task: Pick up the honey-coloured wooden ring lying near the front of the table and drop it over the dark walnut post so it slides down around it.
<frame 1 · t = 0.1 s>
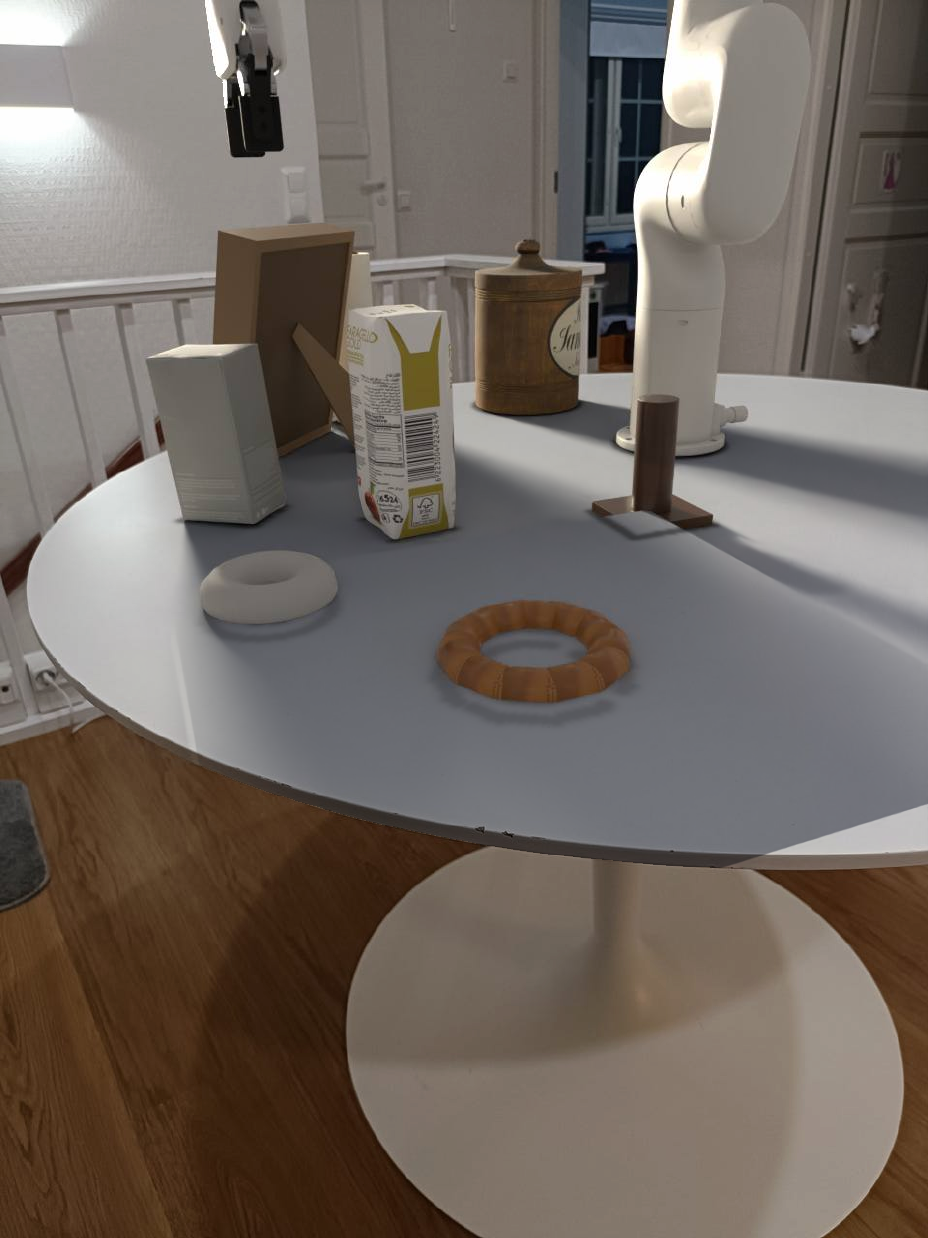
hand: (256, 154, 78), 31 cm above the table, tool pointing down, fingers open, 9 cm apart
post: (650, 517, 81), on the table
donut: (272, 612, 66), on the table
ring: (533, 651, 56), point 1 cm above the table
juice carton: (408, 525, 82), on the table
cosmetic box: (231, 516, 86), on the table
wooden container: (526, 405, 127), on the table
photo frame: (313, 455, 106), on the table
paper towel roll: (355, 421, 121), on the table
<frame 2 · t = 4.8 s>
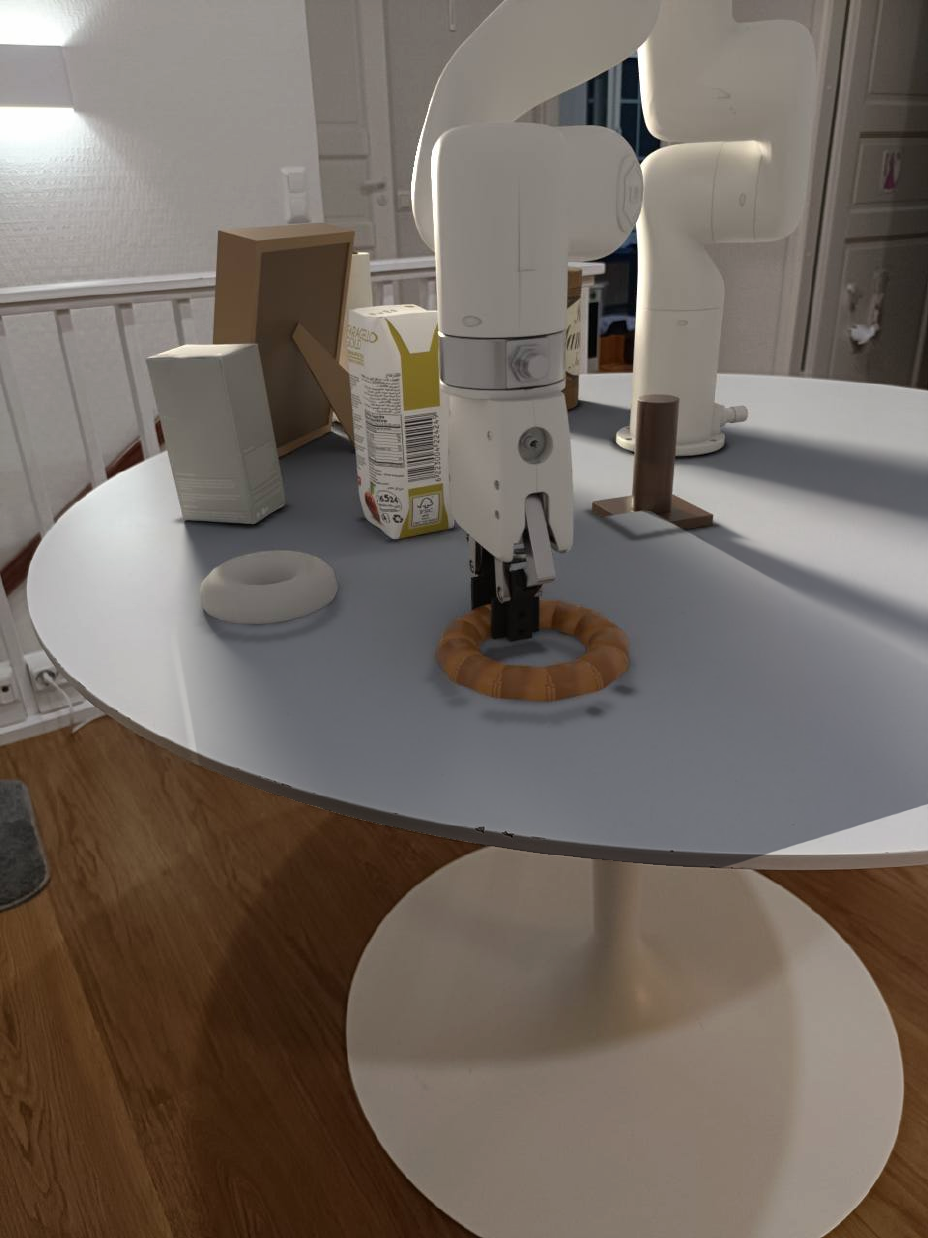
hand: (504, 636, 60), 0 cm above the table, tool pointing down, fingers closed on ring, 3 cm apart
ring: (532, 650, 56), point 1 cm above the table, touching gripper
everything else where it was.
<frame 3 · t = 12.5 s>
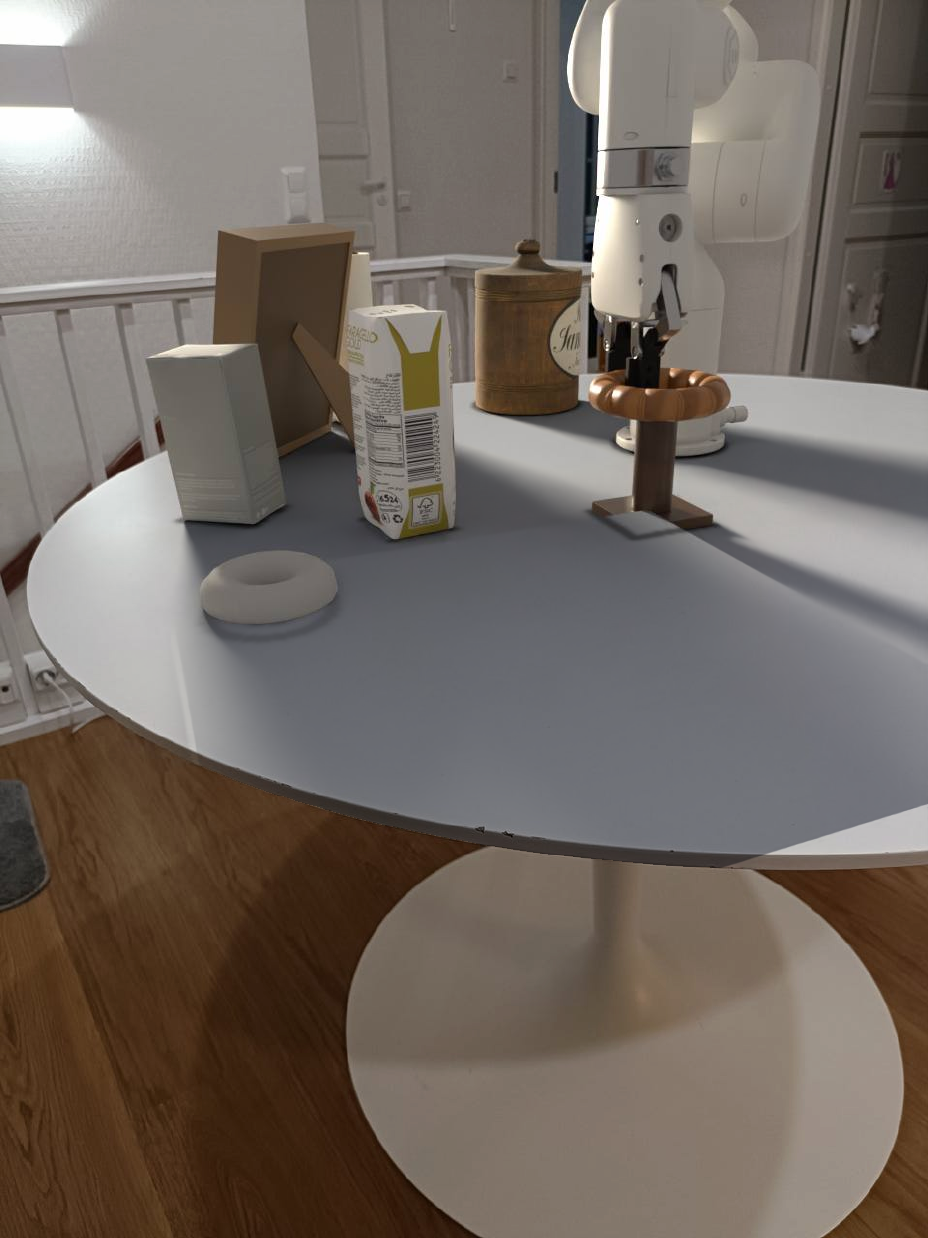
hand: (630, 396, 81), 10 cm above the table, tool pointing down, fingers closed on ring, 2 cm apart
ring: (658, 393, 77), point 11 cm above the table, touching gripper
everything else where it was.
when the fingers open (11 cm above the table, at t = 16.5 s): ring drops 10 cm, resting on post.
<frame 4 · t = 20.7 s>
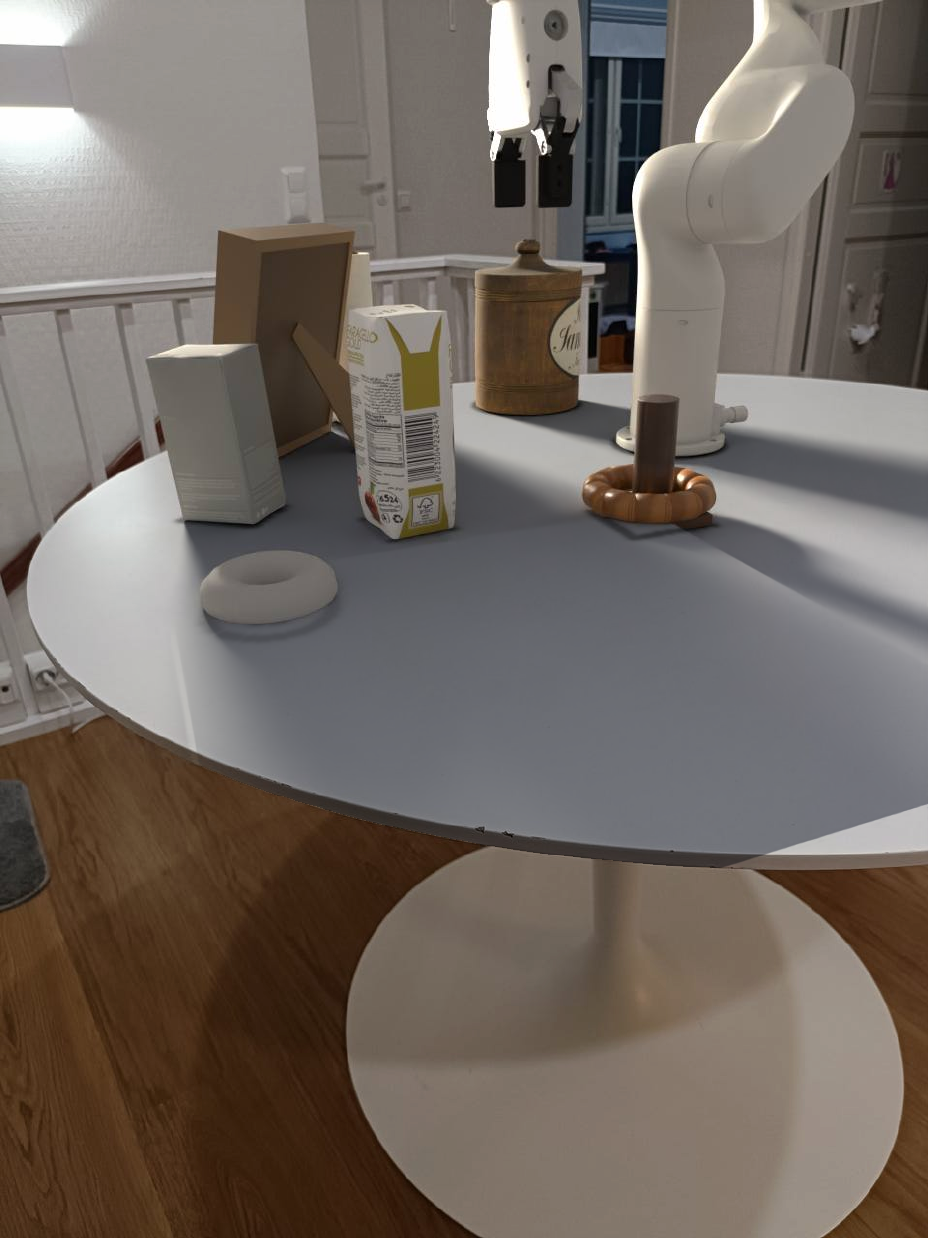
hand: (530, 207, 80), 26 cm above the table, tool pointing down, fingers open, 9 cm apart
ring: (648, 492, 81), point 2 cm above the table, touching post
everything else where it was.
at the end: ring 0.6 cm from the post (horizontally); ring point 2.3 cm above the table; the gripper is holding nothing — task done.
